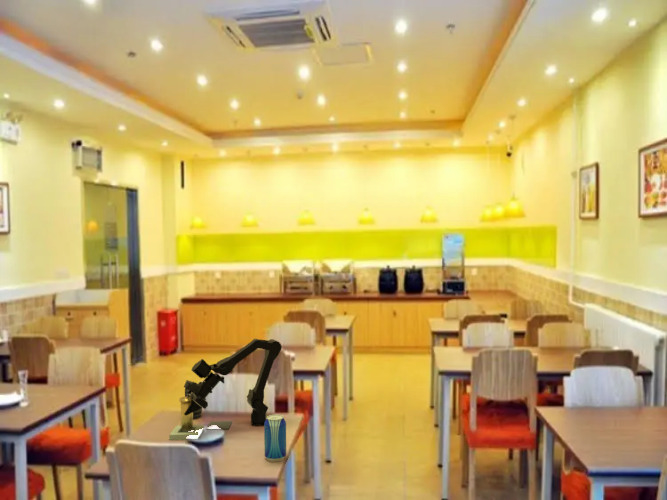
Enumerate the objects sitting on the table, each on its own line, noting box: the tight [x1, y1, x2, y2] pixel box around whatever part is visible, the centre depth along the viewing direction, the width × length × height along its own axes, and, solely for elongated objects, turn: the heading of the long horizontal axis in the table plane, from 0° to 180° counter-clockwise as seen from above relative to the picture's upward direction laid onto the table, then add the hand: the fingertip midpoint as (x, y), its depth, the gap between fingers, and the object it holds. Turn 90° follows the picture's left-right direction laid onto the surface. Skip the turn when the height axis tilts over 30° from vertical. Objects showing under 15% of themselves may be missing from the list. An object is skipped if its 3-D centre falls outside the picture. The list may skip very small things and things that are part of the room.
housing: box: [168, 424, 205, 441], centre depth 239 cm, size 12×12×2 cm
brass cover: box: [179, 396, 194, 430], centre depth 239 cm, size 6×6×13 cm
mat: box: [206, 420, 233, 431], centre depth 250 cm, size 10×10×1 cm
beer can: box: [263, 414, 287, 463], centre depth 212 cm, size 8×8×16 cm
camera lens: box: [184, 388, 203, 420], centre depth 264 cm, size 8×8×15 cm
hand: (183, 413), depth 239 cm, fingers closed on brass cover, 5 cm apart
